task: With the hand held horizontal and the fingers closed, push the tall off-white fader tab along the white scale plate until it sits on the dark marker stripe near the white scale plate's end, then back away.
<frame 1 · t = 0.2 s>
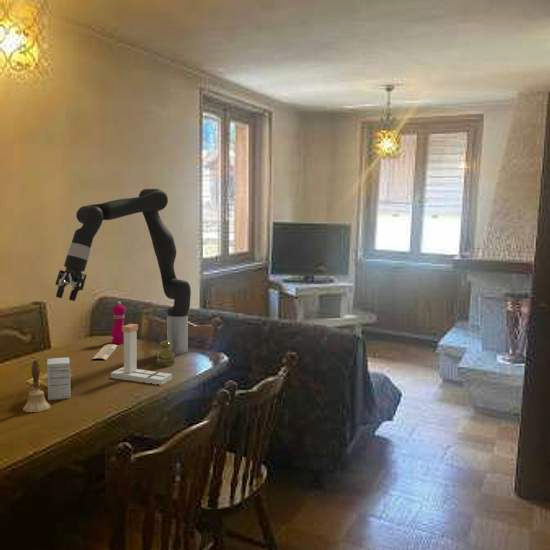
hand: (65, 299, 206), 31 cm above the table, tool tilted 20°, fingers open, 8 cm apart
hand bell: (36, 408, 181), on the table
supplement box: (59, 396, 193), on the table
white scale plate: (141, 378, 215), on the table
brass knobbed piece: (165, 364, 235), on the table
pepper mill: (119, 342, 268), on the table
newspaper: (106, 355, 249), on the table
fader tab: (130, 348, 215), point 11 cm above the table, slide at -5.0 cm
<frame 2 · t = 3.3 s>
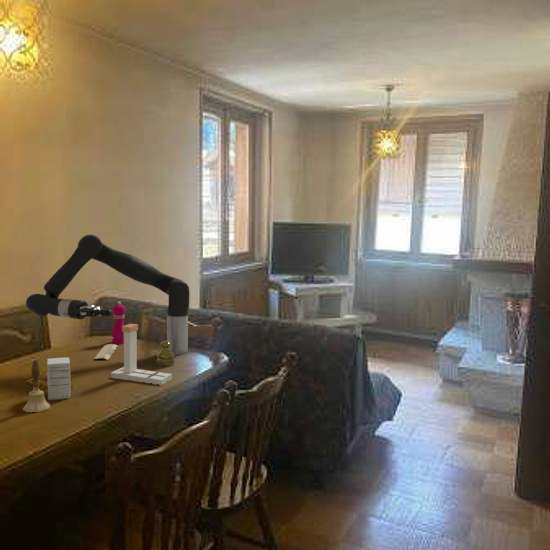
hand: (110, 313, 216), 24 cm above the table, tool horizontal, fingers closed
nothing on the table moved.
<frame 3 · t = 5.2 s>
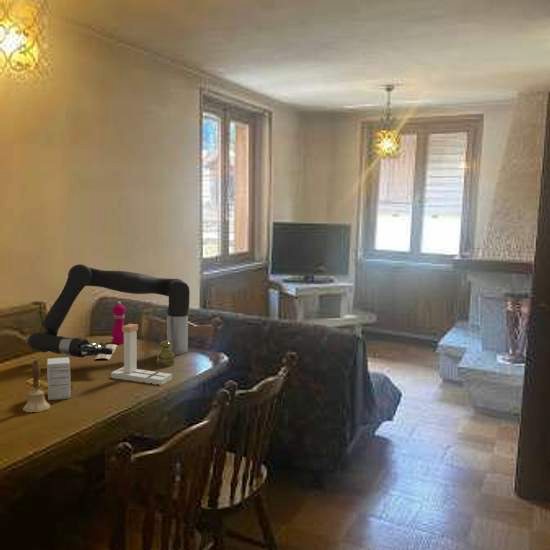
hand: (111, 351, 218), 9 cm above the table, tool horizontal, fingers closed
nothing on the table moved.
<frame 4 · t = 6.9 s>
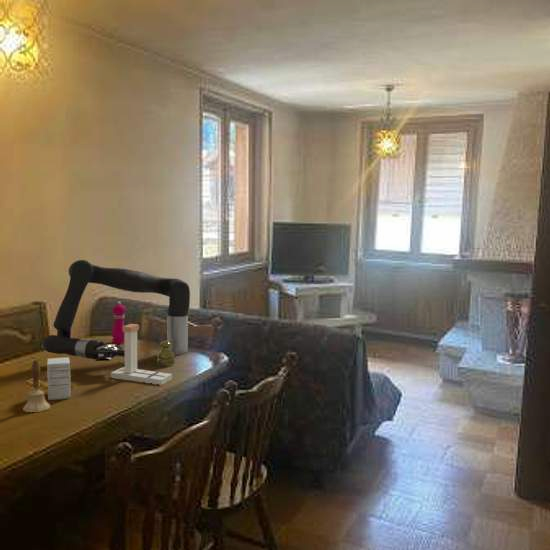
hand: (127, 353, 216), 9 cm above the table, tool horizontal, fingers closed
fader tab: (130, 348, 215), point 11 cm above the table, slide at -4.7 cm, touching gripper
everything else where it was.
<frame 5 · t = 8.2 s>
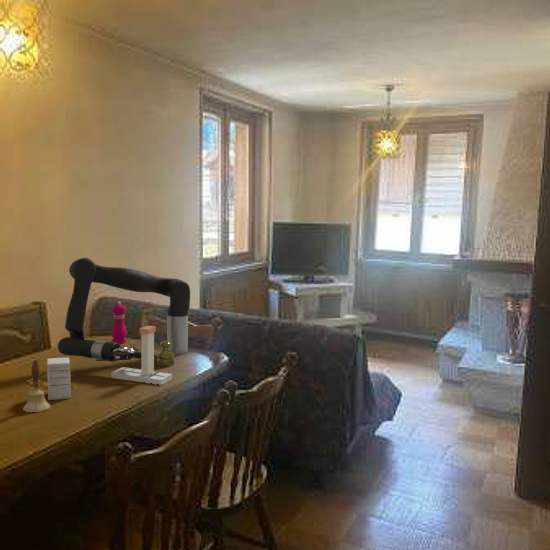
hand: (144, 356, 213), 9 cm above the table, tool horizontal, fingers closed
fader tab: (147, 350, 213), point 11 cm above the table, slide at 2.7 cm, touching gripper
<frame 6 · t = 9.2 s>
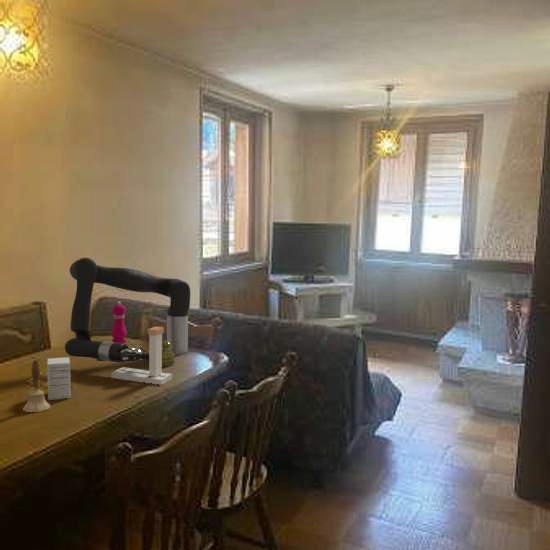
hand: (152, 357, 212), 9 cm above the table, tool horizontal, fingers closed
fader tab: (155, 351, 212), point 11 cm above the table, slide at 6.1 cm, touching gripper
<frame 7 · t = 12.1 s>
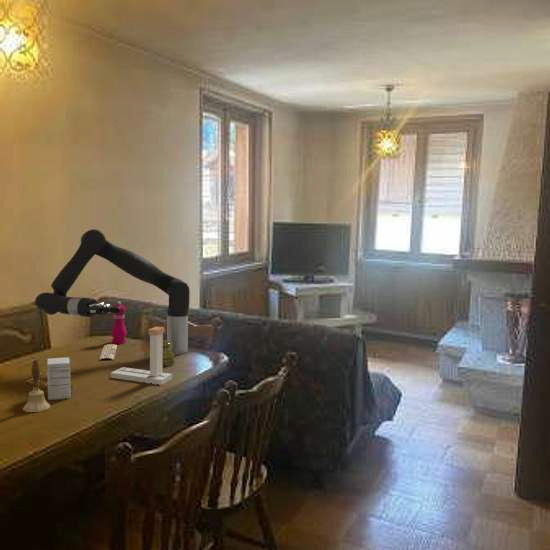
hand: (120, 310, 215), 26 cm above the table, tool horizontal, fingers closed
fader tab: (156, 351, 211), point 11 cm above the table, slide at 6.4 cm
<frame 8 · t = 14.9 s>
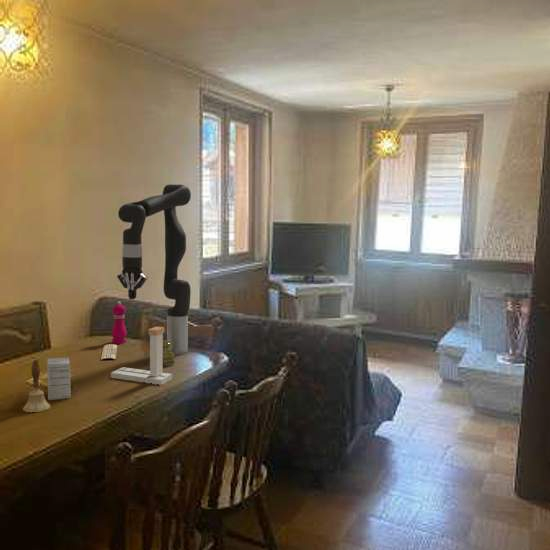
hand: (132, 298, 222), 29 cm above the table, tool pointing down, fingers closed
at the end: fader tab slide at 6.4 cm; the gripper is holding nothing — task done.
